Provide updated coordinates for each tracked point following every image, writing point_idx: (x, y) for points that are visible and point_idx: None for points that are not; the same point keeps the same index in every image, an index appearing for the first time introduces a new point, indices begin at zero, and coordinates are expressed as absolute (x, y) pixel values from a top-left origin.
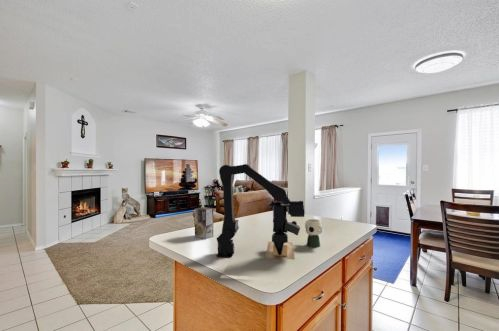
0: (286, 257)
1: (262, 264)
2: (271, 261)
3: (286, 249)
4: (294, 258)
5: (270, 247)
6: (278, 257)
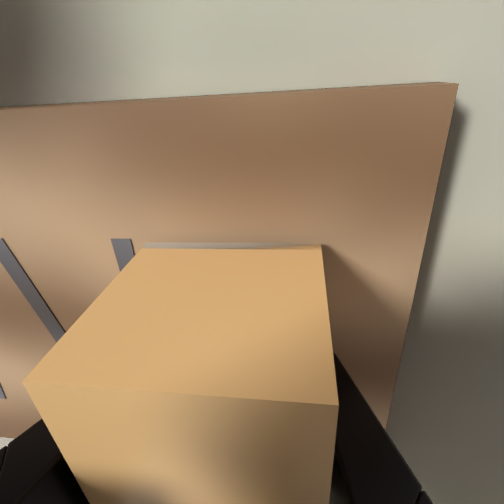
0: (354, 252)
1: (492, 470)
2: (406, 401)
3: (332, 348)
4: (408, 92)
5: (19, 416)
6: (360, 360)
